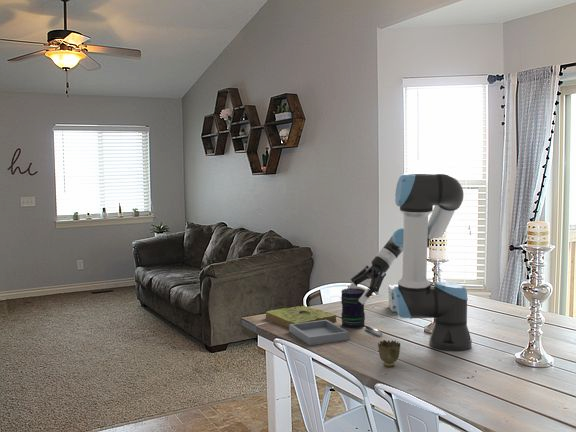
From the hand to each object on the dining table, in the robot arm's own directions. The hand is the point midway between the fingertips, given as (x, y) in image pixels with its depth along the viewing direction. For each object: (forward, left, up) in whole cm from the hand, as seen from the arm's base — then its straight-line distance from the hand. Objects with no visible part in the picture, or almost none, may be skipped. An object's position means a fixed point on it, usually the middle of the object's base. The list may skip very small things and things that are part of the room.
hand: (352, 299), depth 247 cm
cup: (-50, +13, -11) cm, 53 cm away
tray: (-8, +20, -11) cm, 24 cm away
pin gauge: (-14, -3, -11) cm, 18 cm away
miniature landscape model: (+17, +17, -12) cm, 27 cm away
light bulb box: (+15, -32, -11) cm, 37 cm away
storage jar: (-1, 0, -11) cm, 11 cm away
